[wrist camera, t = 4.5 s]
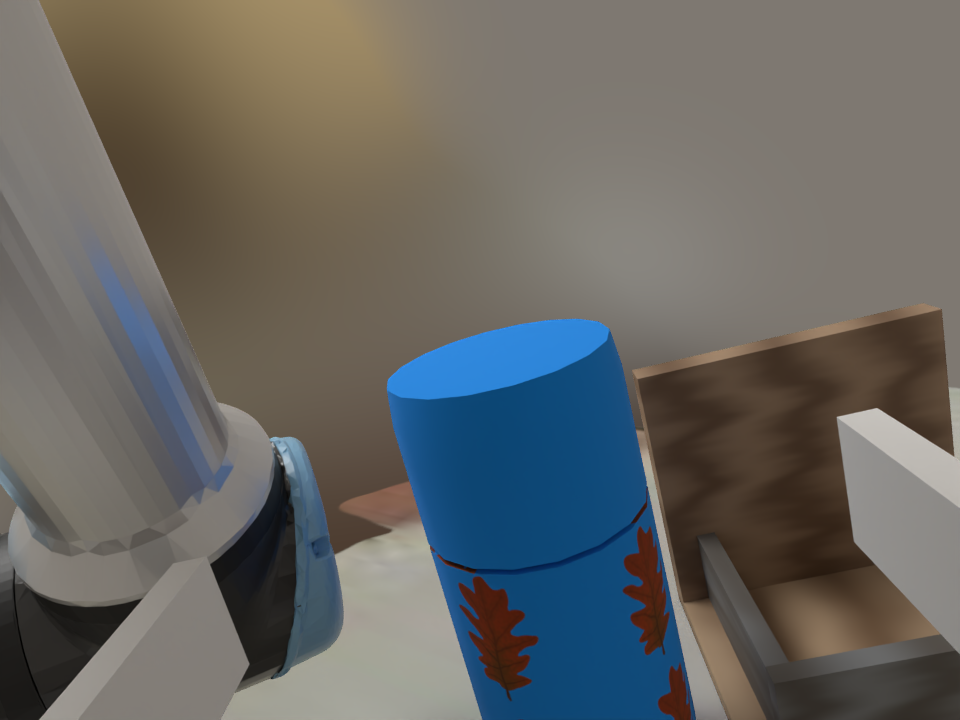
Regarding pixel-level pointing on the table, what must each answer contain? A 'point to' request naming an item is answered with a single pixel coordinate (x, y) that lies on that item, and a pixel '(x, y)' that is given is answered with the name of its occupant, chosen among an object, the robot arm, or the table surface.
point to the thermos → (542, 524)
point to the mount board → (797, 518)
